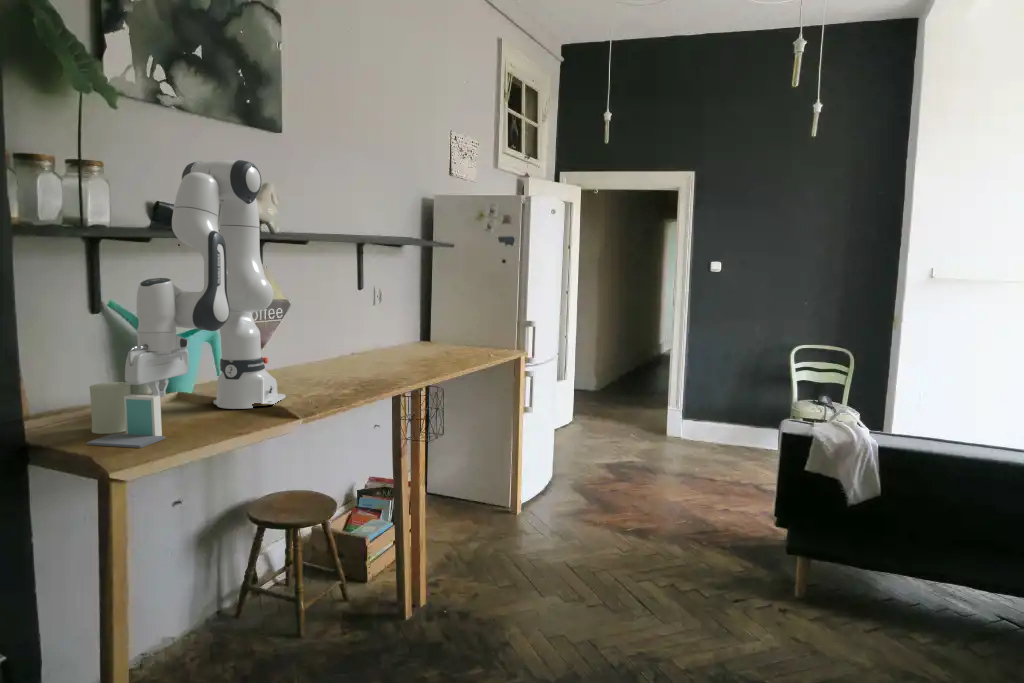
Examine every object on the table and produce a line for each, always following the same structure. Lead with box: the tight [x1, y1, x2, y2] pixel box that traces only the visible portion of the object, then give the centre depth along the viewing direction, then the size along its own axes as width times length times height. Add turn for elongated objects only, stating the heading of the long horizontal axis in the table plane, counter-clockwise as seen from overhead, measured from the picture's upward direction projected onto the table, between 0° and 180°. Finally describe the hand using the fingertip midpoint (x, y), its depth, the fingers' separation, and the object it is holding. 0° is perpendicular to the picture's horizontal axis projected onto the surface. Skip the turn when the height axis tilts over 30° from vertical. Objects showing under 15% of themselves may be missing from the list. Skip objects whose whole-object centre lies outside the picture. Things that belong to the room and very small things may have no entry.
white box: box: [124, 393, 163, 436], centre depth 178 cm, size 3×8×10 cm, turn 80°
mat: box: [86, 433, 166, 449], centre depth 172 cm, size 9×14×1 cm, turn 80°
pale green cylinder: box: [89, 381, 131, 435], centre depth 184 cm, size 9×9×12 cm
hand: (158, 397), depth 183 cm, fingers closed
